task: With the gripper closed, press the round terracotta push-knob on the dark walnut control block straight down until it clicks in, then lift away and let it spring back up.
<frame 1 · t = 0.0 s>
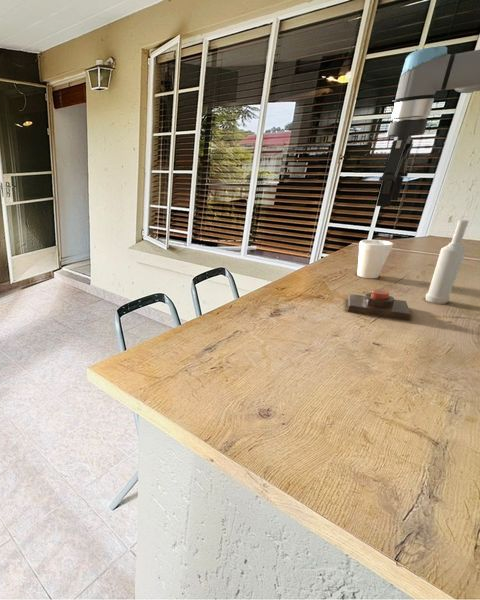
hand: (387, 203, 99), 31 cm above the counter, tool pointing down, fingers open, 13 cm apart
foam cup: (367, 276, 134), on the counter
control block: (375, 309, 106), on the counter
press knob: (379, 295, 105), point 5 cm above the counter, slide at 0.1 cm
bottle: (435, 301, 109), on the counter
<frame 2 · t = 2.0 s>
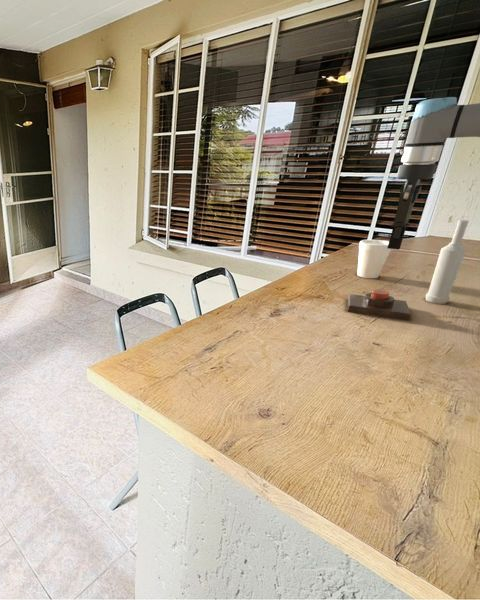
hand: (393, 248, 103), 18 cm above the counter, tool pointing down, fingers closed
nothing on the counter moved.
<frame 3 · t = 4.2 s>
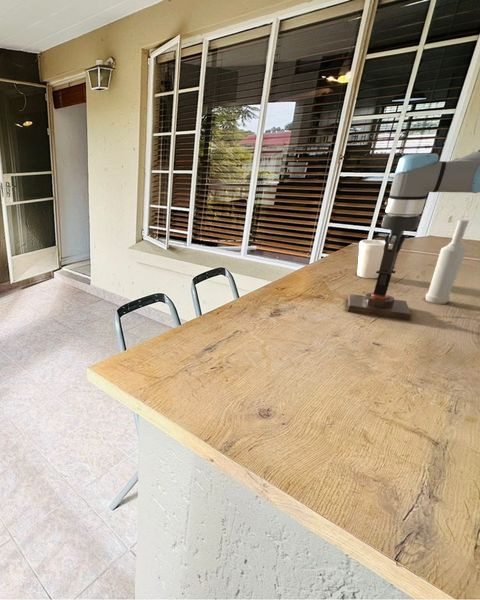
hand: (379, 294, 105), 5 cm above the counter, tool pointing down, fingers closed
press knob: (379, 298, 105), point 4 cm above the counter, slide at -0.9 cm, touching gripper
everything else where it was.
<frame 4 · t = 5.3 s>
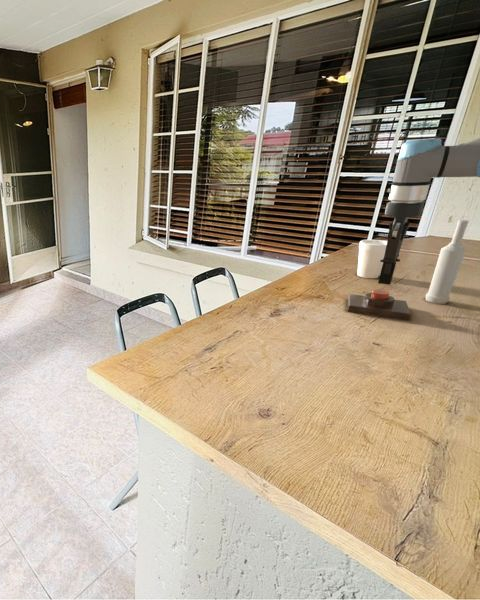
hand: (384, 283, 103), 8 cm above the counter, tool pointing down, fingers closed
press knob: (379, 295, 105), point 5 cm above the counter, slide at 0.1 cm
everything else where it was.
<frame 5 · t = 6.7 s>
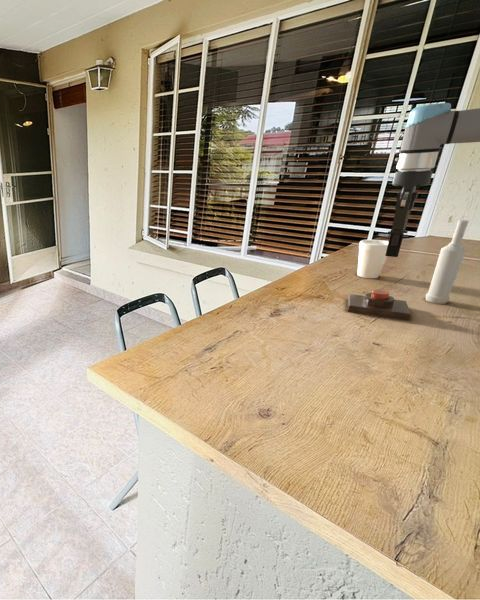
hand: (391, 255, 101), 16 cm above the counter, tool pointing down, fingers closed
nothing on the counter moved.
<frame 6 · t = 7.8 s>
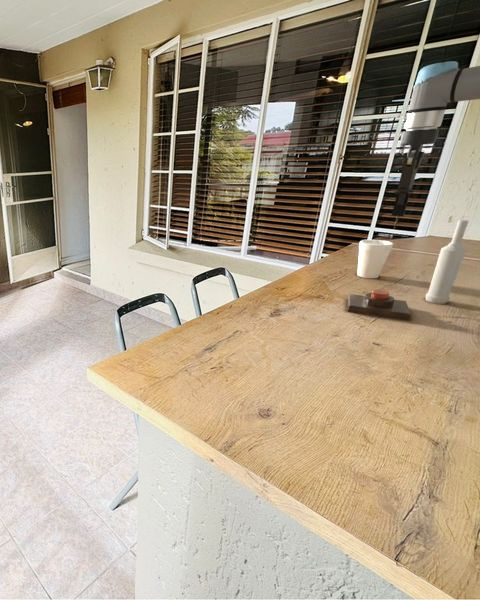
hand: (397, 215, 105), 26 cm above the counter, tool pointing down, fingers closed
nothing on the counter moved.
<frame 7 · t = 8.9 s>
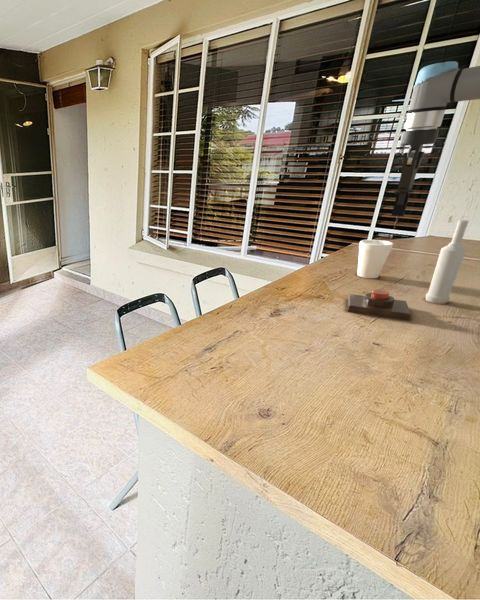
hand: (397, 215, 105), 26 cm above the counter, tool pointing down, fingers closed
nothing on the counter moved.
at the end: press knob pushed in 1.2 cm at the most during the clip, back to where it started at the end; press knob slide at 0.1 cm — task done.
